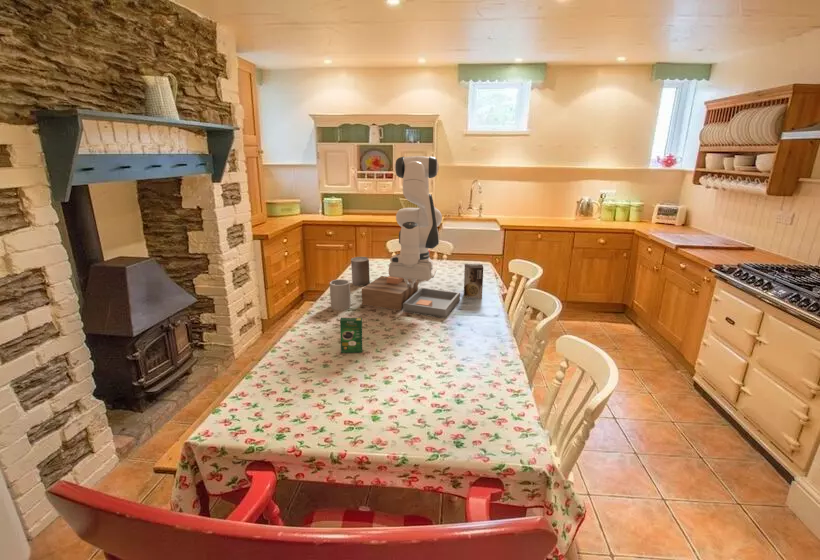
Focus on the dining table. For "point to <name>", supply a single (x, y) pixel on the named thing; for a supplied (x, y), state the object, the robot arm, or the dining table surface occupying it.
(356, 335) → the coffee box
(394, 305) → the brown wooden block
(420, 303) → the terracotta tile
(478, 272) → the coffee box
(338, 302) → the cup
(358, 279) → the pillar candle
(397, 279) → the terracotta tile
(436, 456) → the dining table surface
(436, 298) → the box
